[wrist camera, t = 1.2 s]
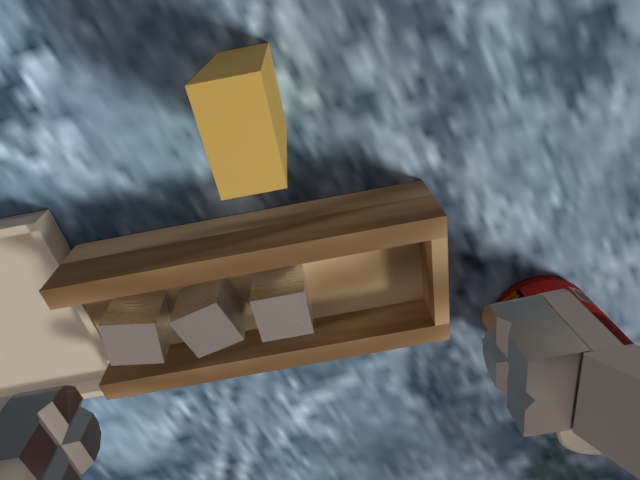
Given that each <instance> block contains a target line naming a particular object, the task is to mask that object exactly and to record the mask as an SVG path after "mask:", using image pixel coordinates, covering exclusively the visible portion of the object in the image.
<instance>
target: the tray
mask: <svg viewBox="0 0 640 480" xmlns="http://www.w3.org/2000/svg"><path fill="white" fill-rule="evenodd" d="M70 252H71V248H70V247H69V245H68V243H67V241H66V239H65V237H64V236H63V234H62V232H61V230H60V228H59V227H58V225H57V223H56V221H55V219H54V217H53V216H52V214H51V212H50V210H49V209H47V210H42V211H36V212H31V213H26V214H21V215H15V216H10V217H5V218H0V397H1V396H7V395H13V394H18V393H22V392H28V391H34V390H40V389H46V388H52V387H58V386H64V385H69V386H75V387H76V389H77V390H78V391H79V393H80V394H81V396H82V397H83V399H86V398H91V397H97V396H103V395H104V394H103V392H102V391H101V389H100V388H99V384H100V382H101V379H102V377H103V375H104V373H105V371H106V369H107V367H108V364H109V362H110V361H109V358H108V355H107V352H106V349H105V346H104V343H103V340H102V337H101V334H100V332H99V330H98V328H97V327H96V325H95V323H94V321H93V320H92V318H91V316H90V314H89V313H88V311H87V309H86V307H85V306H84V304H81V305H76V306H70V307H65V308H60V309H54V310H50V308H49V307H48V305H47V304H46V302H45V300H44V299H43V297H42V296H41V294H40V293H39V290H40V289H41V288H42V287H43V285H44V284H45V283H46V282H47V280H48V279H49V278H50V277H51V275H52V274H53V273H54V272H55V270H56V269H57V268H58V267H59V265H60V264H61V263H62V262H63V260H64V259H65V258H66V257H67V255H68V254H69V253H70Z"/></svg>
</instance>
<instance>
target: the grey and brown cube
mask: <svg viewBox="0 0 640 480" xmlns="http://www.w3.org/2000/svg"><path fill="white" fill-rule="evenodd" d="M171 314H172V309H171V305H170V300H169V295H168V291H167V290H159V291H152V292H147V293H141V294H136V295H130V296H125V297H119V298H114V299H112V301H111V303H110V305H109V306H108V308H107V310H106V312H105V314H104V316H103V317H102V319H101V321H100V323H99V325H98V328H99V331H100V334H101V337H102V340H103V343H104V346H105V349H106V352H107V355H108V358H109V361H110V364H111V366H117V365H138V364H158V363H165V360H166V356H167V353H168V350H169V347H170V344H171V341H172V338H173V334H174V331H175V330H174V329H173V328H172V327H171V326H170V324H169V320H170V317H171Z"/></svg>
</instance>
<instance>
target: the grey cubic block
mask: <svg viewBox="0 0 640 480" xmlns="http://www.w3.org/2000/svg"><path fill="white" fill-rule="evenodd" d="M249 302H250V305H251V308H252V311H253V315H254V318H255V321H256V324H257V327H258V330H259V333H260V336H261V339H262V342H268V341H273V340H279V339H284V338H290V337H295V336H301V335H307V334H312V333H314V327H313V315H312V303H311V297H310V293H309V289H308V284H307V280H306V276H305V271H304V267H303V264H299V265H294V266H288V267H283V268H277V269H272V270H266V271H261V272H256V273H253V274H252V283H251V292H250V301H249Z"/></svg>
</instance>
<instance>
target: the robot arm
mask: <svg viewBox="0 0 640 480" xmlns="http://www.w3.org/2000/svg"><path fill="white" fill-rule="evenodd" d="M482 322H483V324H484V325H485V327H486V329H487V330H488V333H487V334H486V335H485V337H484V338H483V339H482V341H483V355H484V359H485V363H486V367H487V370H488V372H489V375H490V377H491V379H492V381H493V383H494V385H495V386H496V388H498V389H500V390H501V391H503V392H505V393H506V394H507V408H508V410H509V412H510V414H511V415H512V417H513V419H514V421H515V422H516V424H517V426H518V428H519V430H520V431H521V433H522V435H523V437H527V436H534V435H540V434H547V433H553V432H560V431H566V430H573V431H572V432H573V433H574V434H576V435H577V436H579V437H580V438H581V439H583V440H584V441H586V442H587V443H588V444H590V445H591V446H593V447H594V448H596V449H597V450H598V451H600V452H601V453H603V454H604V455H605V456H607V457H608V458H610V459H611V460H613V461H614V462H615V463H617V464H618V465H620V466H621V467H623V468H624V469H625V470H627V471H628V472H630V473H631V474H632V475H634V476H635V477H637V478H638V479H640V346H637V345H635V344H630V345H624V344H622V343H621V342H620V341H619V340H618V339H617V338H616V337H615V336H614V335H613V334H612V333H611V332H610V331H609V330H608V329H607V328H606V327H605V326H604V325H603V324H602V323H601V322H600V321H599V320H598V319H597V318H596V317H595V316H594V315H593V314H592V313H591V312H590V311H589V310H588V309H587V308H586V307H585V306H584V305H583V304H582V303H581V302H580V301H579V300H578V299H577V298H576V297H575V296H574V295H573V294H572V293H571V292H570V291H568V290H565V289H559V290H554V291H549V292H545V293H540V294H537V295H533V296H528V297H523V298H518V299H513V300H508V301H503V302H498V303H492V304H487V305H484V308H483V311H482ZM82 400H83V397H82V396H81V394H80V393H79V391H78V390H77V389H76V387H75V386H69V385H64V386H58V387H52V388H46V389H40V390H34V391H28V392H22V393H18V394H13V395H7V396H1V397H0V480H83V477H82V474H83V473H84V472H85V471H86V470H87V469H88V468H89V467H90V466H91V465H92V464H93V463H94V462H95V459H96V457H97V454H98V451H99V449H100V439H101V431H100V427H99V423H98V421H97V419H96V417H95V416H94V414H93V413H92V412H90V411H88V410H86V409H84V408H82V407H81V403H82Z"/></svg>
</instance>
